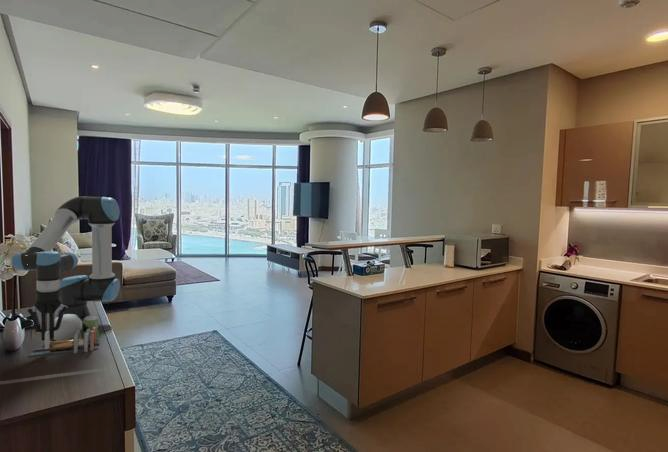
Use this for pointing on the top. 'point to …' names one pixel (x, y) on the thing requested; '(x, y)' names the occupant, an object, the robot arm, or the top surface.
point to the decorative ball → (67, 327)
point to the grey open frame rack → (46, 352)
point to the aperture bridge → (93, 338)
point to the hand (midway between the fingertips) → (47, 347)
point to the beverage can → (91, 325)
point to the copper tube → (65, 345)
